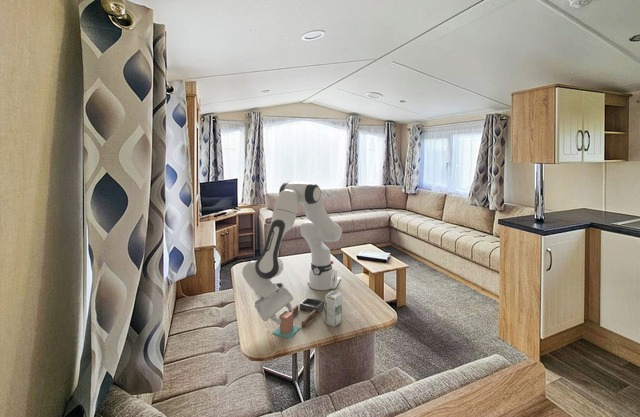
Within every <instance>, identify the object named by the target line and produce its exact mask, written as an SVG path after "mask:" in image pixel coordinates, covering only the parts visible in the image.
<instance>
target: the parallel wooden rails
mask: <svg viewBox="0 0 640 417" xmlns="http://www.w3.org/2000/svg"><path fill="white" fill-rule="evenodd" d="M292 309H293V311H294V312H293V316H295V315H296V314H297V313H298V312H299V310H300V308H299V305H297V304H296V305H294V306H293V307H292ZM316 317H317V313H316V310H313V311H312V312H310V313H309V314H307V316H305V318H303V319H302V320H301V328H303V329H304V328H306V327H307V325H308V324H310V322H311V321H313V320H314V319H315V318H316Z"/></svg>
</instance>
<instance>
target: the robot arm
mask: <svg viewBox="0 0 640 417" xmlns="http://www.w3.org/2000/svg"><path fill="white" fill-rule="evenodd" d="M278 191H279V192H278V195H277V199H276V200H275V203H274V208H273V211H272V214H271V215H272V216H271V223H270V227H269V231H268V234H267V238H266V241H265V245H264V248H263V251H262V253H261V255H259V257H258V258H257V259H256V260H251V261H249V262H248V263H246V265H244V267H243V269H242V271H241V274H242V277H243V279H244V280H245V282H246V284H247V285H248V286H249V287H250V288H251V290H253V291H254V294H255V295H256V297H257V298H258V299H257V300H256V301H255V303H254V308H255V309H256V310H257V311H256V312H257V314H258V315H259V317H260V318H261V320H262V321H263V322H267V321H268V320H269V319H270V320H271V321H273V322H274V323H276V324H277V325H278V326H280V323H282V320H281V319H279V317H277V315H276V314H277V313H278V312H279V311H280V310H282V309H283V308H284V307H285V308H287V309H288V312H292V313H293V312H294V311H293V309H292V308H293V307H292V303H291V302H292V301H293V300H294V297H293V294H292V293H291V292H290V291H289V289H287V287H285V285H284V283H283V282H278V283H277V282H276V283H273V282H272V279H274V278H277V277H278V276H280V275H281V273H282V271H283V270H284V263H283V260H282V259H281V258H280V257H278V255H279V251H280V248H281V244H282V240H283V238H284V236H285V234H286V233H287V232H288V231H290V230H291V229H292V228H293V227H294V224H295V222H296V218H297V215H298V214H297V213H298V208H299V204H302V206H303V209H304V213H305V217H306V219H307V220H306V221H303V222H302V223H301V224H300V228H299V230H300V231H299V232H300V235H301V236H302V237H303V239H305V241H306V242H307V244H308V246H309V248H310V253H311V263H310V270H309V276H308V277H309V279H308V280H307V284H308V286H309V288H311V289H313V290H315V291H327V290H331V289H332V290H333V289H337V287H338V285H339V283H340V281H341V279H342V278H341V276H339V275H338V271H337V269H335V268H334V267H333V264H334V260H331V250H330V248H329V247H328V246H327V245H326V244H325V243H324V242H331V243H332V242H338V241H339V240H340V239H341V237H342V234H343V230H342V229H343V228H342V227H341V225H339V224H338V223H336V222H335V221H334V220H333V219H332V218H331V217H330V216H329V214H328V213H327V210H326V208H325V204H324V201H323V198H322V194H321V188H320V186H319V185H318V184H317V183H313V182H306V181H287V182H283V183H282V184H281V186H280V187H279V190H278Z"/></svg>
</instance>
